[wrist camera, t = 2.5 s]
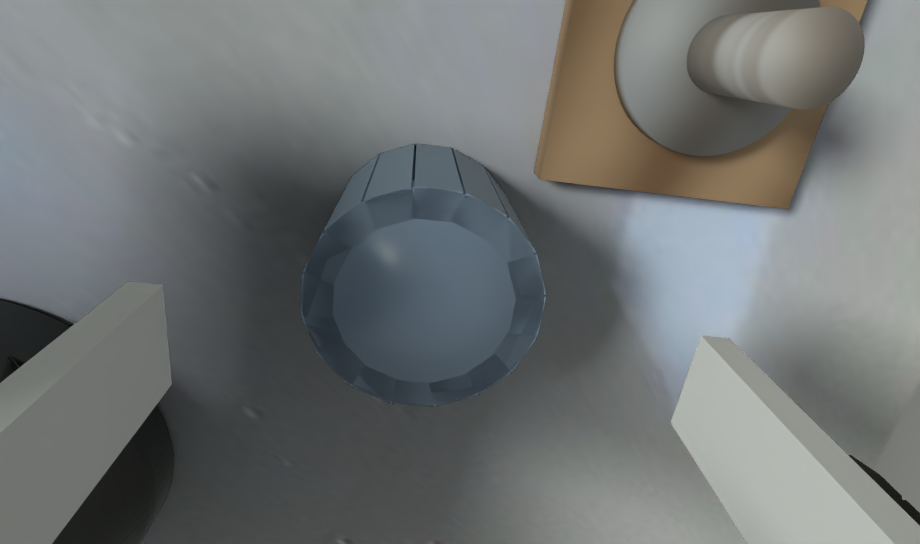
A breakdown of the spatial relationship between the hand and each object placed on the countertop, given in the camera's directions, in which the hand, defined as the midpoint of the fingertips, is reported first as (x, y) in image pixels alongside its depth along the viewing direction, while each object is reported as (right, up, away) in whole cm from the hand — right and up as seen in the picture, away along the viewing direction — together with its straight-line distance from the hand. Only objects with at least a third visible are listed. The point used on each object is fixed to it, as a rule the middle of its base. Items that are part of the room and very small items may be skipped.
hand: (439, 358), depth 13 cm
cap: (-1, +4, +8) cm, 9 cm away
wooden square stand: (+9, +10, +6) cm, 15 cm away
